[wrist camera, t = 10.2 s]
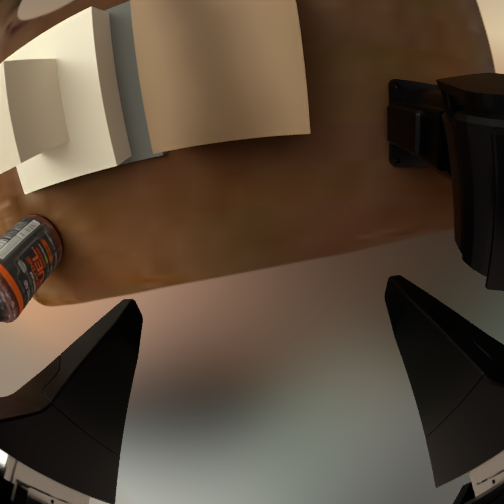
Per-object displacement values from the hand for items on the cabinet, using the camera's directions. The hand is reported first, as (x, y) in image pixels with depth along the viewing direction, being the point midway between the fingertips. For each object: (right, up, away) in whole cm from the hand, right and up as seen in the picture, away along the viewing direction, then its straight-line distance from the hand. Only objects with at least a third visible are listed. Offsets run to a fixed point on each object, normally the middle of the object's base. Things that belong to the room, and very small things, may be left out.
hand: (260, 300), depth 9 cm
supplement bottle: (-21, +3, +13) cm, 24 cm away
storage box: (-2, +14, +5) cm, 15 cm away
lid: (-14, +13, +6) cm, 19 cm away
